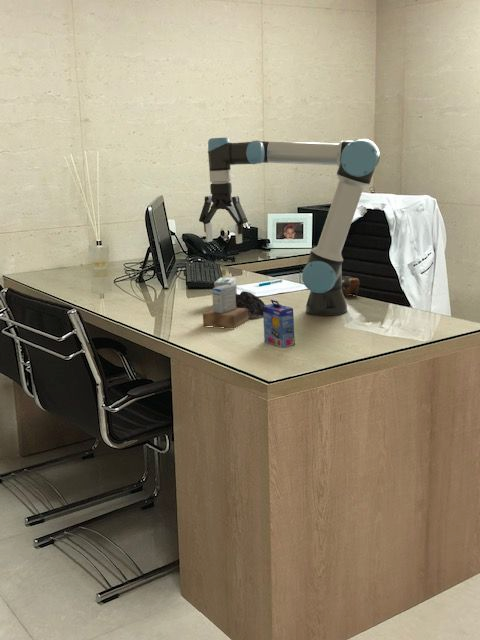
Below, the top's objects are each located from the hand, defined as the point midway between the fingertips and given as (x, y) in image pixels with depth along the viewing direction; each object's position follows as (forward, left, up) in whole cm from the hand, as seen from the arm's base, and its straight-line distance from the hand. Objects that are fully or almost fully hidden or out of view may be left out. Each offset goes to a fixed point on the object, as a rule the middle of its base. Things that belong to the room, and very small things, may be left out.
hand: (224, 242), depth 285 cm
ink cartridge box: (-37, +18, -28) cm, 50 cm away
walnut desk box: (-5, +7, -28) cm, 30 cm away
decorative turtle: (-16, -55, -28) cm, 64 cm away
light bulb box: (+13, -14, -28) cm, 34 cm away
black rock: (-4, -8, -28) cm, 30 cm away
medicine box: (-5, +7, -23) cm, 25 cm away
